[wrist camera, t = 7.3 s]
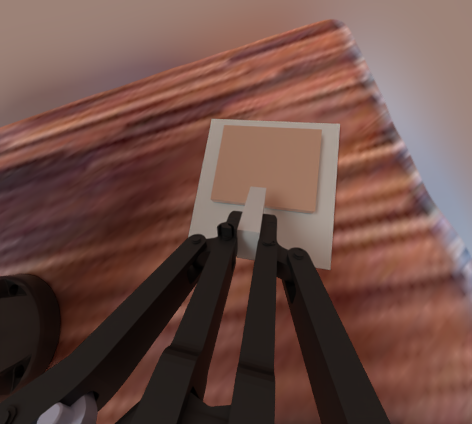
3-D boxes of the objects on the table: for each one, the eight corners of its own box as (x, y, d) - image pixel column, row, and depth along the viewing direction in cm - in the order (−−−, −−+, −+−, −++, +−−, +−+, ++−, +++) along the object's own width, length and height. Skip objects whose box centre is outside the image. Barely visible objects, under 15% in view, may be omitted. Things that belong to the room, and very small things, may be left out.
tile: (210, 199, 22) (224, 124, 24) (213, 202, 23) (226, 132, 25) (315, 211, 20) (321, 129, 21) (311, 214, 21) (318, 137, 23)
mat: (188, 245, 24) (186, 245, 23) (213, 122, 27) (211, 118, 26) (327, 269, 21) (330, 270, 20) (337, 128, 24) (340, 124, 23)
